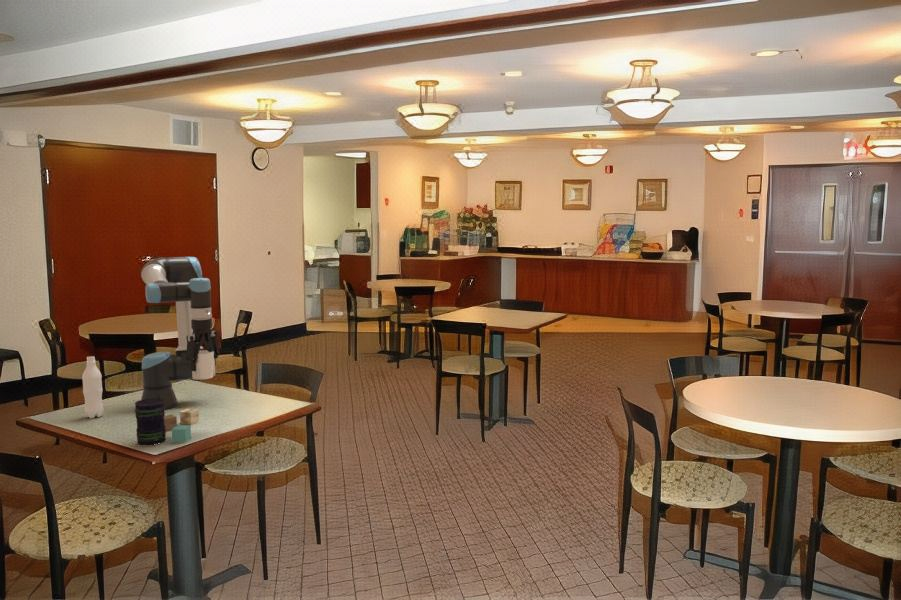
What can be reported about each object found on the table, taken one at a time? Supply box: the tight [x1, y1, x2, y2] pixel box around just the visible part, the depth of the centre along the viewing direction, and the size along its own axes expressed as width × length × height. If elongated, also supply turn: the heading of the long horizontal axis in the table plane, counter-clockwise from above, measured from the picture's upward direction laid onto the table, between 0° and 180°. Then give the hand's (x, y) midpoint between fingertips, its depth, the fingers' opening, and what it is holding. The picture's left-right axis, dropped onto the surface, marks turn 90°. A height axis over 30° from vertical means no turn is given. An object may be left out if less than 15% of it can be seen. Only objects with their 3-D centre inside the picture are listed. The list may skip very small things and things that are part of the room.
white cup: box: [197, 349, 214, 380], centre depth 271 cm, size 8×8×10 cm
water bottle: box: [81, 355, 105, 419], centre depth 288 cm, size 7×7×25 cm
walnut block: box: [164, 414, 178, 432], centre depth 272 cm, size 5×5×5 cm
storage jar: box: [134, 398, 167, 446], centre depth 256 cm, size 10×10×15 cm
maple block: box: [179, 408, 200, 426], centre depth 281 cm, size 5×5×5 cm
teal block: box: [171, 424, 192, 443], centre depth 258 cm, size 5×5×5 cm
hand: (204, 376), depth 272 cm, fingers closed on white cup, 8 cm apart
